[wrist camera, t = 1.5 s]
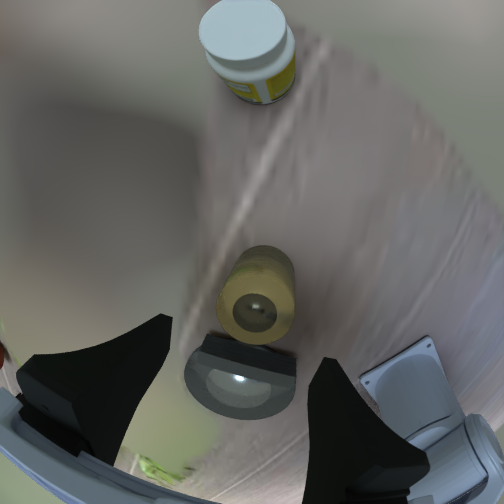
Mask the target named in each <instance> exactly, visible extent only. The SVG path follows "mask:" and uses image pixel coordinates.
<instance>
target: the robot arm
mask: <svg viewBox="0 0 504 504" xmlns="http://www.w3.org/2000/svg"><path fill="white" fill-rule="evenodd" d="M172 319H173V317H170V316H167V315H164V314H159V315H157V316H155V317H153V318H152V319H150V320H149V321H147V322H145V323H143V324H142V325H140V326H138V327H136V328H134V329H133V330H131V331H129V332H127V333H125V334H123V335H121V336H119V337H117V338H114V339H112V340H110V341H107V342H105V343H102V344H99V345H96V346H93V347H89V348H85V349H81V350H77V351H72V352H65V353H58V354H38V355H37V354H34V355H33V356H32V357H31V358H30V359H29V360H28V361H27V362H26V363H25V364H24V365H23V366H22V367H21V368H20V369H19V370H18V371H17V372H16V378H17V381H18V384H19V386H20V388H21V390H22V392H23V394H24V396H25V398H26V400H27V402H26V403H25V405H24V406H23V404H22V403H21V402H20V401H19V400H18V399H17V398H16V397H14V396H13V395H12V394H11V393H10V392H9V391H7V390H6V389H5V388H4V387H2V388H1V389H0V451H1V452H2V454H4V455H5V456H6V457H7V458H8V459H9V460H10V461H11V462H13V463H14V464H15V465H16V466H17V467H18V468H19V469H21V470H22V471H23V472H24V473H26V474H27V475H28V476H29V477H31V478H32V479H33V480H34V481H35V482H37V483H38V484H39V485H41V486H42V487H43V488H45V489H46V490H48V491H49V492H50V493H52V494H53V495H55V496H56V497H58V498H59V499H61V500H62V501H64V502H65V503H67V504H221V503H217V502H212V501H208V500H204V499H200V498H196V497H193V496H189V495H185V494H182V493H179V492H176V491H173V490H169V489H166V488H164V487H161V486H158V485H155V484H152V483H150V482H147V481H145V480H142V479H140V478H137V477H135V476H132V475H130V474H128V473H126V472H123V471H121V470H119V469H117V468H115V467H113V466H114V463H115V460H116V457H117V454H118V451H119V449H120V446H121V443H122V440H123V438H124V436H125V433H126V431H127V429H128V426H129V424H130V421H131V419H132V417H133V415H134V413H135V411H136V408H137V406H138V404H139V402H140V401H141V399H142V397H143V396H144V394H145V393H146V391H147V389H148V388H149V386H150V385H151V383H152V381H153V380H154V378H155V377H156V375H157V373H158V372H159V370H160V369H161V367H162V365H163V363H164V361H165V359H166V357H167V354H168V352H169V350H170V339H171V329H172ZM428 344H429V345H428ZM366 381H368V382H366ZM360 382H361V383H362V385H363V386H364V387H365V389H366V390H367V391H368V393H369V394H370V395H371V396H372V398H373V399H374V400H375V402H376V403H377V404H378V406H379V410H380V414H381V418H382V420H381V419H380V418H379V417H378V416H377V415H376V414H375V413H374V412H373V411H372V410H371V408H370V407H369V406H368V405H367V404H366V402H365V401H364V400H363V398H362V397H361V396H360V394H359V393H358V392H357V390H356V389H355V387H354V386H353V384H352V383H351V381H350V380H349V378H348V377H347V375H346V374H345V372H344V371H343V369H342V367H341V366H340V364H339V363H338V361H337V360H336V359H332V358H327V357H324V358H323V360H322V362H321V364H320V366H319V368H318V370H317V372H316V374H315V375H314V377H313V379H312V381H311V383H310V385H309V389H308V403H307V405H308V423H309V440H310V450H309V462H308V470H307V478H306V485H305V490H304V496H303V501H302V504H448V503H449V504H496V503H497V501H498V500H499V498H500V497H501V495H502V493H503V492H504V455H503V452H502V449H501V446H500V444H499V442H498V440H497V438H496V436H495V434H494V432H493V431H492V429H491V427H490V426H489V424H488V423H487V421H486V420H485V419H484V418H483V417H482V416H481V415H480V414H472V413H471V414H469V415H468V416H467V417H466V416H465V414H464V412H463V410H462V408H461V406H460V404H459V402H458V400H457V398H456V396H455V395H454V393H453V391H452V389H451V387H450V385H449V383H448V381H447V379H446V376H445V373H444V370H443V368H442V365H441V362H440V359H439V357H438V354H437V351H436V349H435V346H434V344H433V341H432V339H431V338H430V337H429V336H427V337H425V338H423V339H422V340H420V341H419V342H417V343H416V344H414V345H413V346H411V347H410V348H408V349H407V350H405V351H404V352H402V353H400V354H399V355H397V356H395V357H394V358H392V359H390V360H389V361H387V362H385V363H384V364H382V365H380V366H378V367H377V368H375V369H373V370H371V371H369V372H368V373H366V374H364V375H362V376H361V377H360ZM481 483H482V484H481ZM480 484H481V485H480ZM478 485H479V486H478ZM477 486H478V487H477ZM475 487H476V488H475ZM472 489H473V490H472ZM469 491H470V492H469ZM467 492H468V493H467ZM464 494H465V495H464ZM462 495H463V496H462ZM459 497H460V498H459ZM457 498H458V499H457ZM454 500H455V501H454ZM452 501H453V502H452ZM450 502H451V503H450Z"/></svg>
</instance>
